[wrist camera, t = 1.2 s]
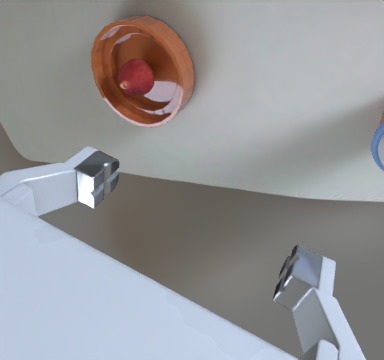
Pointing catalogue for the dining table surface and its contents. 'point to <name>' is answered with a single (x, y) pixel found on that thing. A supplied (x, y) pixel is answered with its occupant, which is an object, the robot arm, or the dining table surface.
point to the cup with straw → (379, 144)
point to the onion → (136, 77)
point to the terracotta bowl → (158, 60)
